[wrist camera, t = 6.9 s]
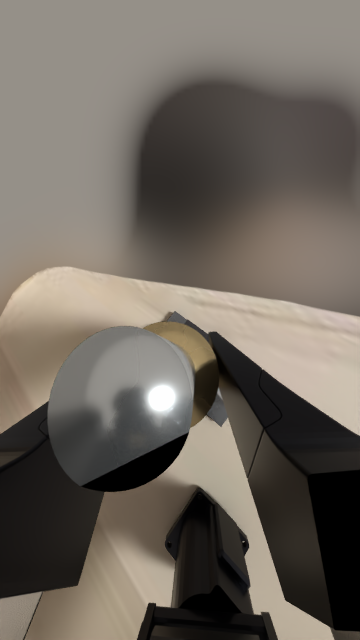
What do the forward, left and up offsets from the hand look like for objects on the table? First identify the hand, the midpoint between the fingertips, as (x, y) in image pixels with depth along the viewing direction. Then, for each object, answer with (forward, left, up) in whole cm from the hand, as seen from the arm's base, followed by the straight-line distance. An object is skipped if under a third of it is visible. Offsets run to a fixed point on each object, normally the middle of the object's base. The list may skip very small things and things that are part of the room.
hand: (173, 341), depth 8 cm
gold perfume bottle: (-1, -1, -7) cm, 7 cm away
